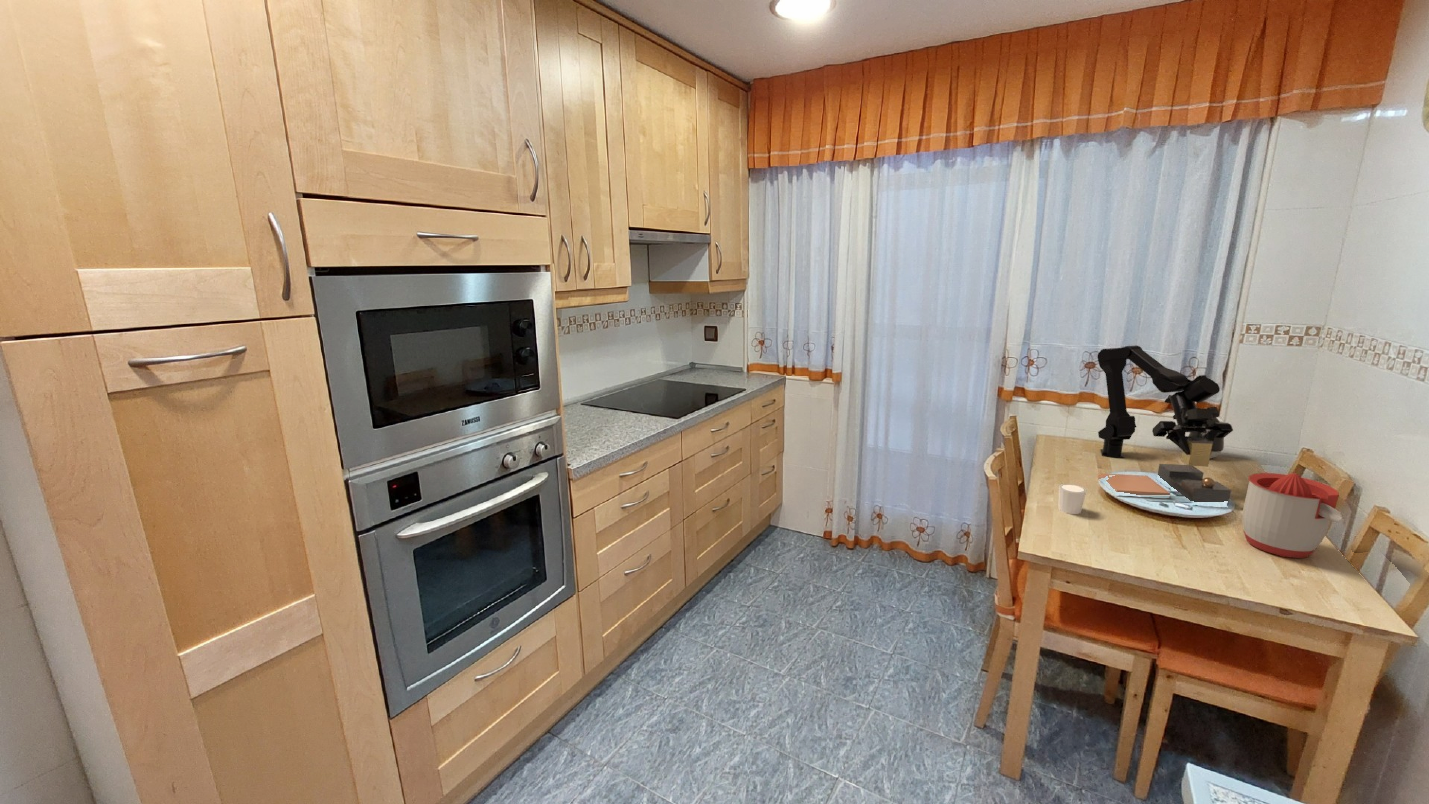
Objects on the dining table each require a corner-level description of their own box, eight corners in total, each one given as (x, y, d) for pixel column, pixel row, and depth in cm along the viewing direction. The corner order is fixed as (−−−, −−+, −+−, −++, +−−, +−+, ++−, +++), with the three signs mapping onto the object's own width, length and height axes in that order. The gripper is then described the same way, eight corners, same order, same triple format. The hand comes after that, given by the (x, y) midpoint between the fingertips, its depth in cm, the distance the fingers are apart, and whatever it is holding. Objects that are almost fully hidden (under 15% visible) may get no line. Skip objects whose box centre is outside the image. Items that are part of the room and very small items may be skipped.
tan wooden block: (1180, 460, 174) (1185, 436, 172) (1199, 461, 173) (1204, 436, 171) (1188, 465, 170) (1193, 440, 168) (1208, 466, 169) (1213, 441, 167)
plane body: (1156, 479, 184) (1160, 456, 182) (1188, 481, 182) (1193, 457, 180) (1191, 505, 165) (1195, 480, 163) (1227, 507, 163) (1232, 482, 161)
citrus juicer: (1302, 572, 131) (1323, 492, 126) (1219, 537, 147) (1235, 466, 142) (1348, 560, 135) (1369, 483, 130) (1262, 528, 151) (1279, 458, 146)
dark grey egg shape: (1177, 454, 205) (1185, 414, 201) (1193, 449, 209) (1201, 410, 205) (1211, 463, 196) (1219, 421, 192) (1227, 457, 200) (1235, 416, 196)
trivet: (1097, 478, 186) (1098, 473, 186) (1146, 481, 183) (1147, 475, 183) (1116, 496, 173) (1117, 490, 173) (1169, 499, 170) (1170, 493, 170)
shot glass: (1075, 505, 169) (1078, 483, 167) (1088, 515, 162) (1091, 493, 160) (1051, 504, 169) (1054, 483, 167) (1063, 515, 163) (1066, 492, 161)
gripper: (1163, 395, 172) (1176, 441, 165) (1235, 397, 168) (1252, 444, 160) (1146, 413, 182) (1158, 457, 174) (1214, 415, 177) (1229, 460, 170)
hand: (1199, 454), depth 169 cm, fingers closed on tan wooden block, 5 cm apart
